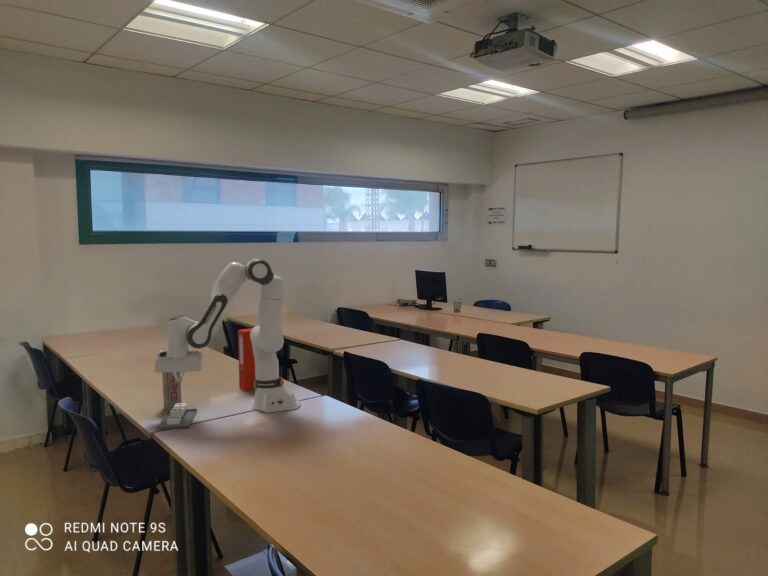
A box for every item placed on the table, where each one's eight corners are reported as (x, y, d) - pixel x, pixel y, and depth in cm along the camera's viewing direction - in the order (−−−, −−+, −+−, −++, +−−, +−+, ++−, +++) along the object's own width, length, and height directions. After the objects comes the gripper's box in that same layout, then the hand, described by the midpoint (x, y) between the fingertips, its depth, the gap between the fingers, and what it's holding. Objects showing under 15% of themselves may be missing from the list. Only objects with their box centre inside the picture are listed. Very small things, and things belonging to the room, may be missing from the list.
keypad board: (196, 412, 250) (196, 408, 250) (188, 428, 230) (188, 424, 230) (167, 413, 248) (167, 409, 248) (156, 430, 228) (156, 426, 228)
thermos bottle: (180, 409, 254) (178, 351, 251) (162, 411, 252) (160, 352, 249) (182, 404, 262) (180, 348, 259) (165, 405, 259) (162, 349, 257)
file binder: (275, 385, 293) (273, 328, 290) (244, 391, 283) (243, 331, 280) (269, 382, 300) (267, 326, 297) (239, 387, 290) (237, 329, 287)
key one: (187, 407, 249) (187, 402, 248) (185, 411, 244) (185, 405, 243) (176, 408, 248) (175, 403, 247) (173, 411, 243) (173, 406, 243)
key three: (181, 420, 235) (181, 415, 235) (179, 424, 230) (179, 419, 230) (169, 421, 234) (169, 415, 234) (167, 425, 229) (166, 419, 229)
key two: (184, 412, 242) (184, 407, 241) (182, 416, 237) (182, 410, 237) (172, 413, 241) (172, 407, 241) (170, 417, 236) (170, 411, 236)
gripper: (203, 349, 248) (204, 378, 249) (156, 350, 244) (157, 380, 246) (201, 352, 242) (201, 382, 243) (153, 353, 238) (154, 384, 239)
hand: (179, 381), depth 244 cm, fingers closed
